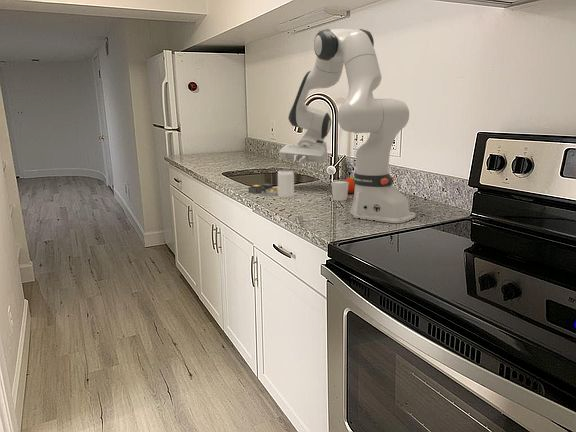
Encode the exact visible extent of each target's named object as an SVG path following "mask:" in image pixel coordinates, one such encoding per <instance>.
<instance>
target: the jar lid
mask: <svg viewBox="0 0 576 432" xmlns="http://www.w3.org/2000/svg"><path fill="white" fill-rule="evenodd" d="M265 193H266V194H273V195H277V196H278V187H273V188H268V189H266V190H265Z"/></svg>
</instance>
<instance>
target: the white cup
mask: <svg viewBox="0 0 576 432" xmlns="http://www.w3.org/2000/svg"><path fill="white" fill-rule="evenodd" d="M348 184H349V182H346V181H345V180H335V181H331V192H332V193H331V195H332V201H337V202H344V200H345V201H347V200H348V194H349V193H348Z"/></svg>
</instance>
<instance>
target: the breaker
mask: <svg viewBox="0 0 576 432" xmlns="http://www.w3.org/2000/svg"><path fill="white" fill-rule="evenodd" d="M250 187H251V188H261V187H262V184H261V185H259V184H254V185H251V186H250Z"/></svg>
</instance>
